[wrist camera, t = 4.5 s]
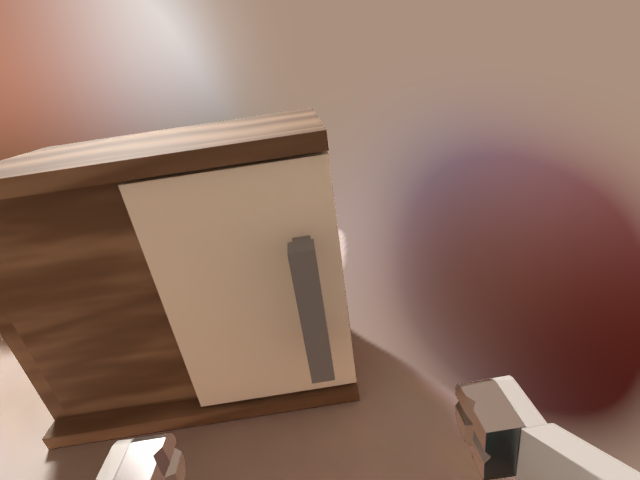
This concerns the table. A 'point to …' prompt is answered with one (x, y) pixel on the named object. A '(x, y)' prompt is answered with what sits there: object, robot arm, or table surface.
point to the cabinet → (118, 279)
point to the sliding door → (249, 274)
